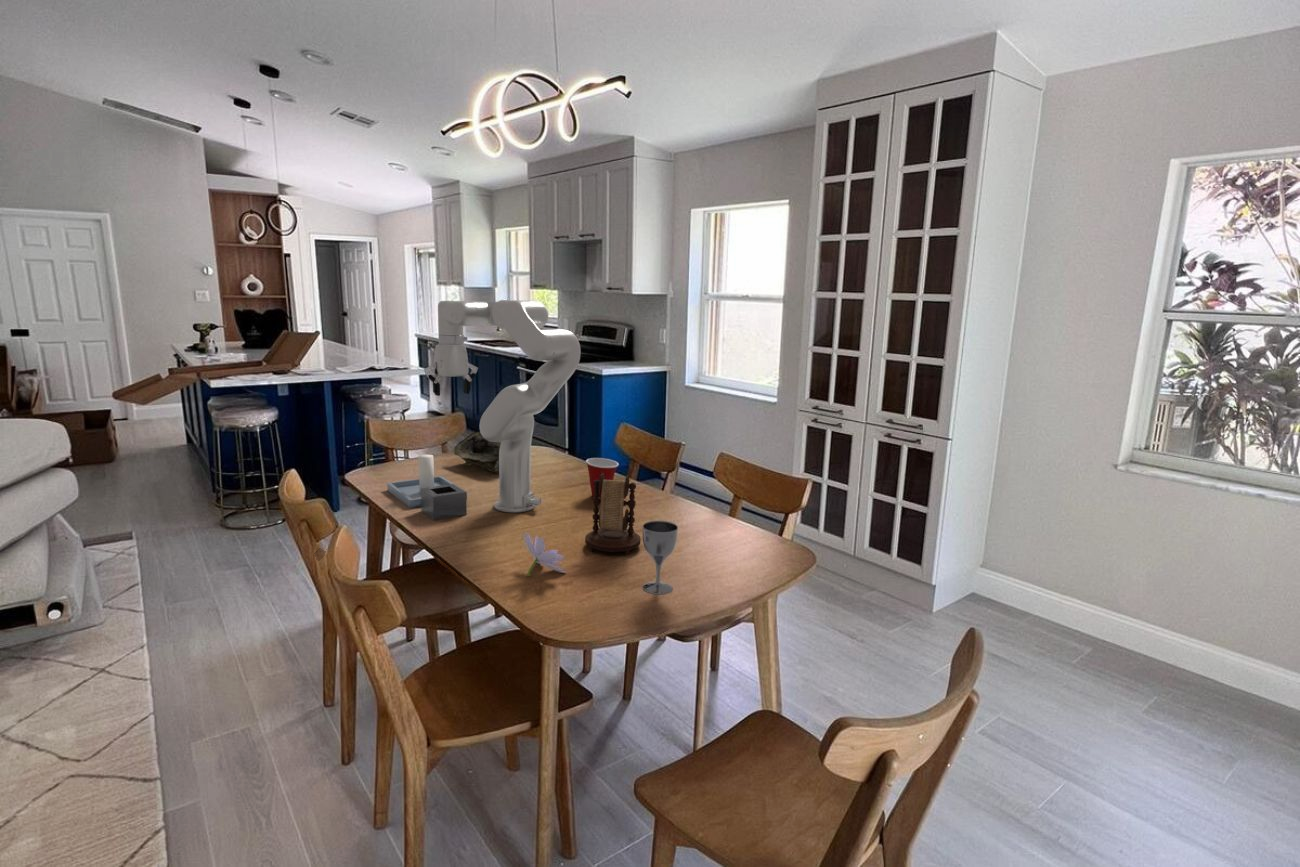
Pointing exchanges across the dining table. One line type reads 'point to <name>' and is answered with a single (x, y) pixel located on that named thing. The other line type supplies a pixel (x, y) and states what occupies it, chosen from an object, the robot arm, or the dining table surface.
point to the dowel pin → (426, 471)
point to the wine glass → (659, 550)
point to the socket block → (443, 501)
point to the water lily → (543, 554)
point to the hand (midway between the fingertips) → (452, 394)
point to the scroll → (613, 517)
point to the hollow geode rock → (479, 451)
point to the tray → (413, 490)
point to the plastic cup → (600, 470)
